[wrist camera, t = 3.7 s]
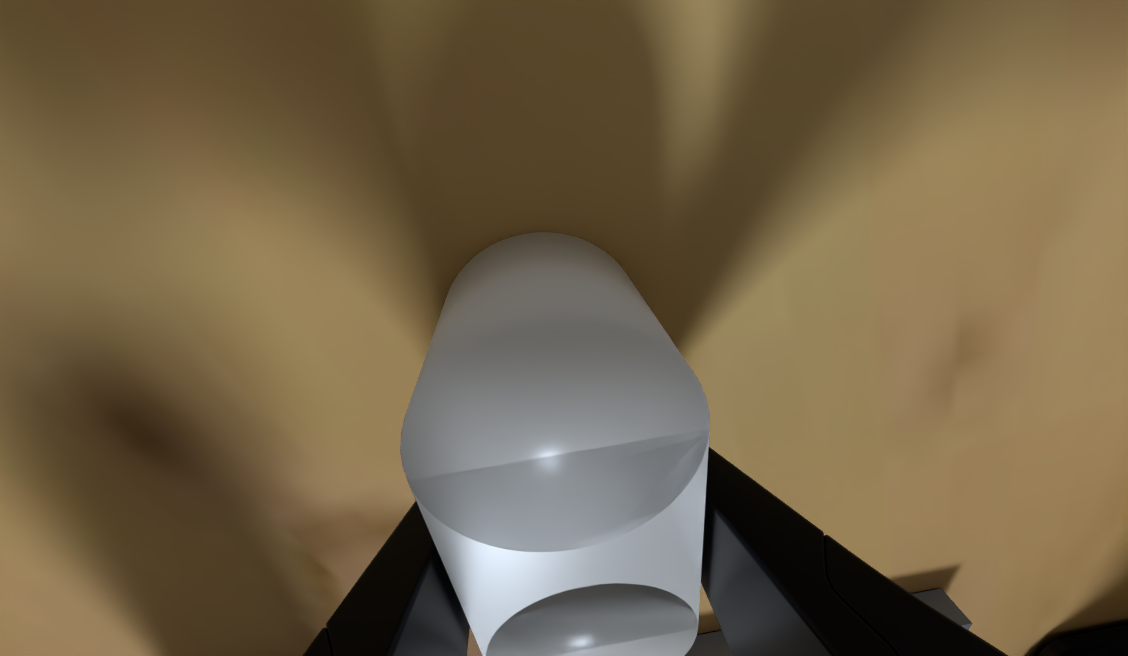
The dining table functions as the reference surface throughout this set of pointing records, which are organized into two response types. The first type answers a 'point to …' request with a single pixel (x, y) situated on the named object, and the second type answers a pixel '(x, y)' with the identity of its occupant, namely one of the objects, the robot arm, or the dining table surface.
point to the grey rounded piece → (561, 456)
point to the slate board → (714, 652)
